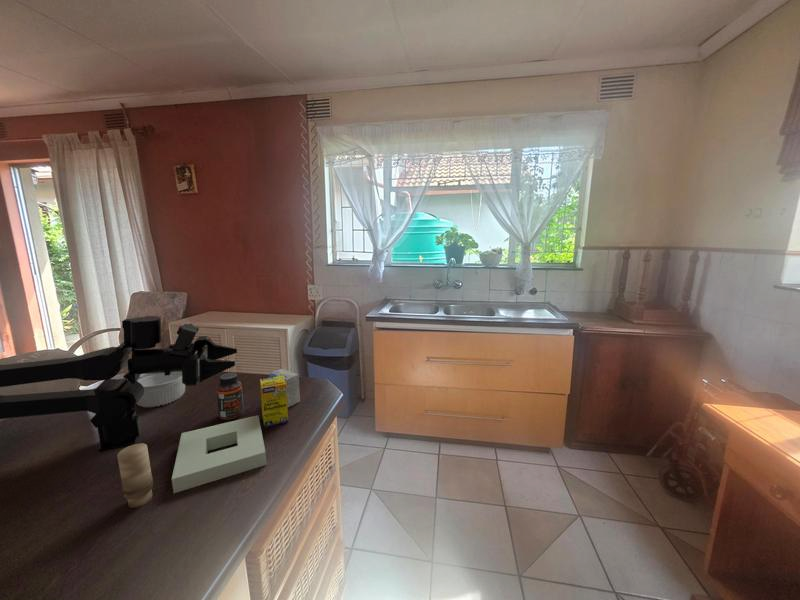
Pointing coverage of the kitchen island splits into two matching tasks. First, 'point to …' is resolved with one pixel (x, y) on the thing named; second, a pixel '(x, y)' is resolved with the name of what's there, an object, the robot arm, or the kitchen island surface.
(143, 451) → the wooden peg
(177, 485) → the socket plate
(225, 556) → the kitchen island surface
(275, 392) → the supplement box
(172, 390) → the ramekin
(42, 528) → the kitchen island surface
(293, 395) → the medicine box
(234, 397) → the supplement bottle
